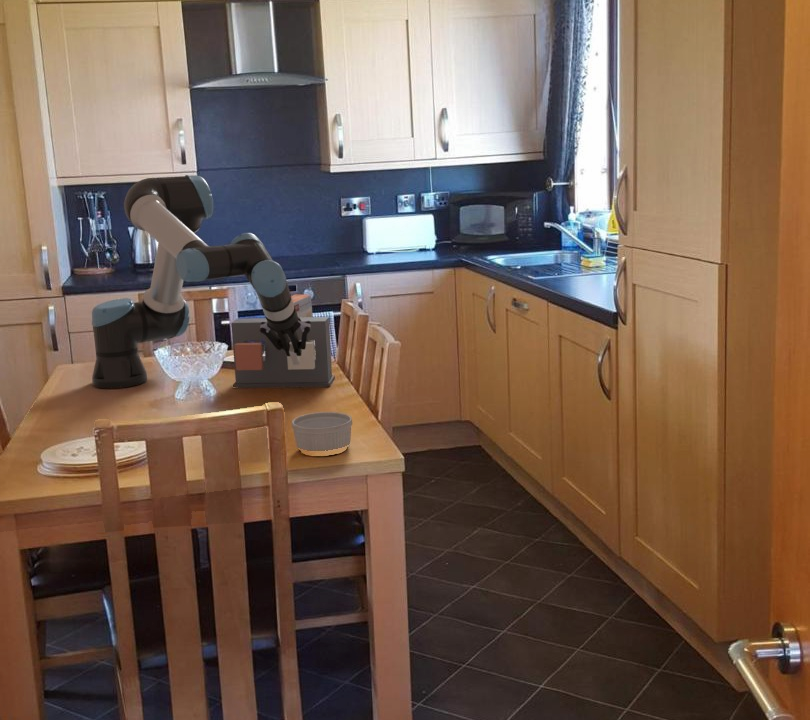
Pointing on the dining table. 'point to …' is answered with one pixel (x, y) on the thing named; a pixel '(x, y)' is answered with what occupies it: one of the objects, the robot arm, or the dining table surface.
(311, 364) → the cream button
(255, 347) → the brick button
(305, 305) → the cracker box
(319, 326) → the box
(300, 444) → the ramekin
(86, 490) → the dining table surface
